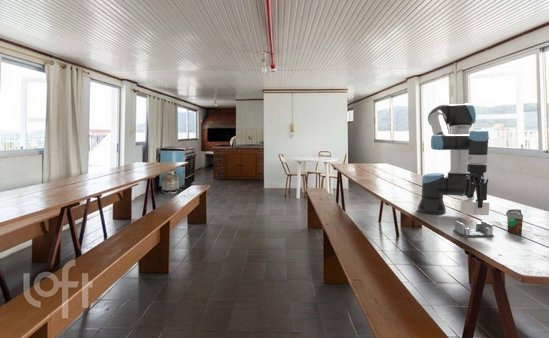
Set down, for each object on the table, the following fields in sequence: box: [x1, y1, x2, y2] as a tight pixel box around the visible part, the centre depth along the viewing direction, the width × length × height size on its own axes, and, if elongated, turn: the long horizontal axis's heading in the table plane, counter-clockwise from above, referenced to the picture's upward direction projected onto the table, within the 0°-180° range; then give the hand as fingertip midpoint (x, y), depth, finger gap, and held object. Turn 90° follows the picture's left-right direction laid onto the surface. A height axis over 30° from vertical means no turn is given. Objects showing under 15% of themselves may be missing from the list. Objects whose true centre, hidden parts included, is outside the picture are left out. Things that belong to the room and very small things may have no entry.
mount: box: [452, 220, 495, 238], centre depth 148 cm, size 14×9×6 cm, turn 88°
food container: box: [505, 208, 524, 236], centre depth 150 cm, size 12×6×10 cm, turn 145°
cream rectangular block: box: [460, 199, 490, 216], centre depth 147 cm, size 10×5×6 cm, turn 80°
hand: (474, 212), depth 147 cm, fingers closed on cream rectangular block, 5 cm apart
